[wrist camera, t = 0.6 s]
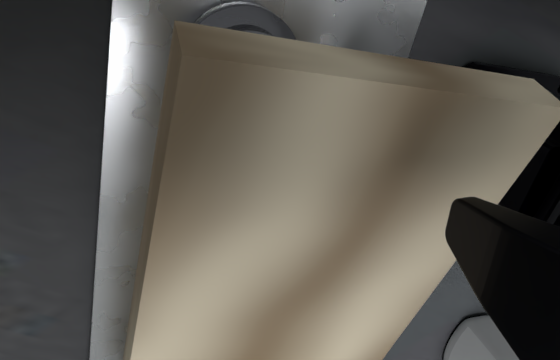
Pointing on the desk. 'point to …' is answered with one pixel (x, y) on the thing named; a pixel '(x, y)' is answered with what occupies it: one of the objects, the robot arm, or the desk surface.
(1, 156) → the desk surface
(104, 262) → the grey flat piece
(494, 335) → the eye dropper bottle
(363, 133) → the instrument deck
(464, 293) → the desk surface
